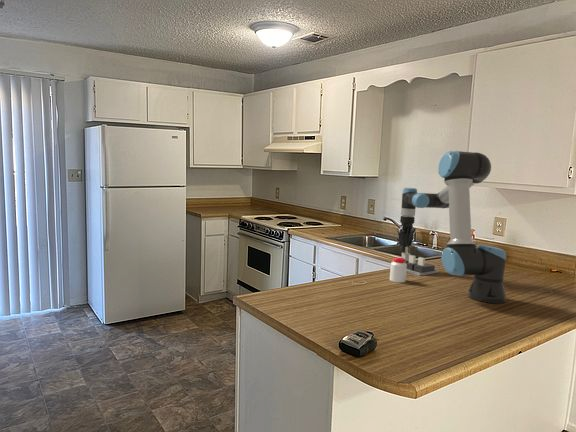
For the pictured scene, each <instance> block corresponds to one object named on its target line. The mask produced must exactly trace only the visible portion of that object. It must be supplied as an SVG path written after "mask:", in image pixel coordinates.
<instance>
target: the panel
mask: <svg viewBox="0 0 576 432" xmlns="http://www.w3.org/2000/svg"><path fill="white" fill-rule="evenodd" d="M405 263H406V264H407V270H406V274H407V273H408V274H411V275H415V276H418V277H420V276H425V275H426V276H427V275H431V274H433V275H434V274H436V273H437V274H438V273H439V270H438V269H436V268H435V267H436V265H435V264H431V263H427V262H425V265H424V266H420V265H418V260H415V263H414V264H413V263H409V261H407V260H405Z"/></svg>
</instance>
